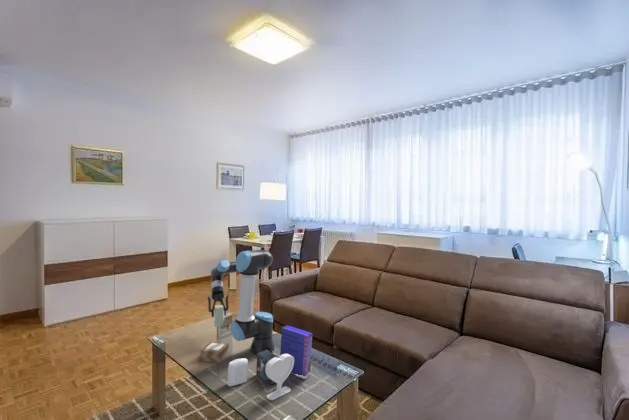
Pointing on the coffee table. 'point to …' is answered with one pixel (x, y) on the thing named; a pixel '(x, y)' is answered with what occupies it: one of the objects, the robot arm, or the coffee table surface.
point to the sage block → (218, 315)
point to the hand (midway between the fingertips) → (219, 320)
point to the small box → (264, 365)
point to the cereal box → (297, 348)
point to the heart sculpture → (279, 373)
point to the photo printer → (237, 371)
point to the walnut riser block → (214, 351)
